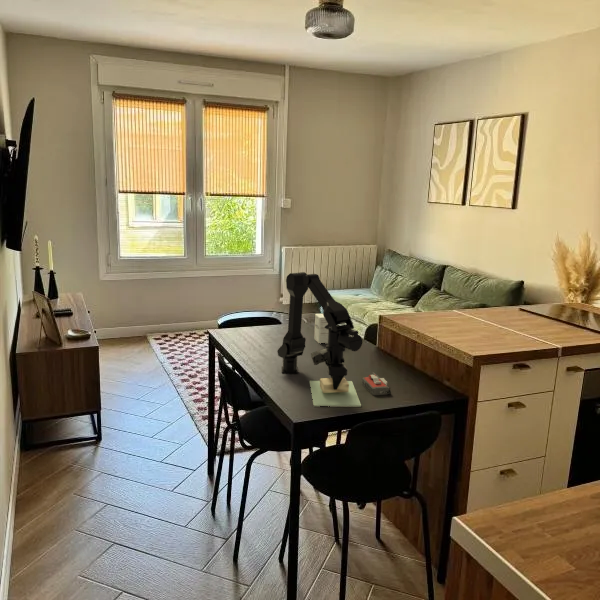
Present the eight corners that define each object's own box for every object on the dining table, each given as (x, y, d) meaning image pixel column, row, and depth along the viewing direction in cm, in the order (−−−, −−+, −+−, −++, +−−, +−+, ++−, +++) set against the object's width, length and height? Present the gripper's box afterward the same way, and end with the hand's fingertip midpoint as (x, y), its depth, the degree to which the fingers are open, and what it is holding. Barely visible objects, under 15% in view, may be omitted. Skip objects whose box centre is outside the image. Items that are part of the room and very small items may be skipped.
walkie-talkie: (396, 396, 190) (375, 376, 209) (397, 384, 189) (376, 365, 208) (373, 397, 188) (354, 377, 207) (374, 386, 187) (354, 366, 206)
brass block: (344, 385, 193) (344, 377, 193) (348, 391, 187) (348, 383, 187) (319, 386, 192) (320, 378, 191) (323, 392, 186) (323, 384, 185)
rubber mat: (309, 382, 200) (309, 380, 200) (352, 382, 201) (352, 381, 201) (313, 406, 179) (313, 405, 179) (361, 406, 180) (361, 405, 179)
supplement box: (313, 339, 254) (314, 313, 251) (328, 338, 256) (329, 313, 253) (318, 344, 247) (319, 317, 244) (333, 343, 249) (334, 316, 246)
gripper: (311, 335, 195) (309, 376, 198) (314, 351, 176) (313, 396, 180) (341, 335, 195) (339, 376, 199) (348, 352, 177) (346, 396, 180)
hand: (334, 385), depth 189 cm, fingers closed on brass block, 6 cm apart
